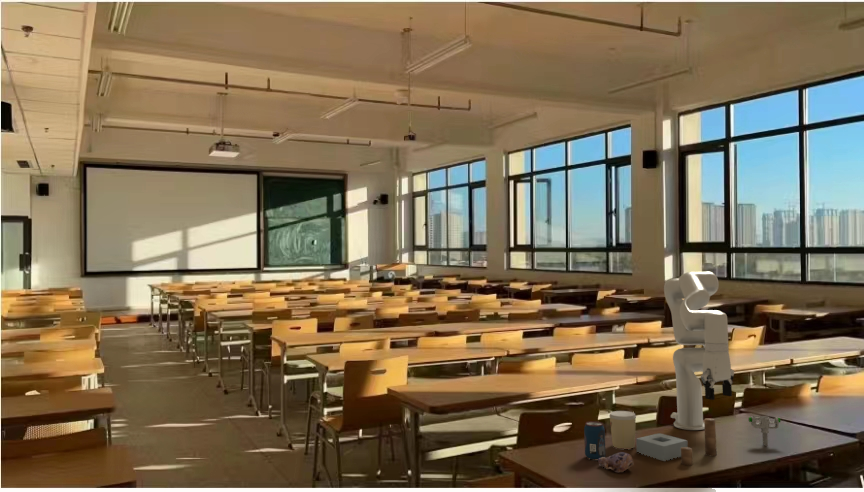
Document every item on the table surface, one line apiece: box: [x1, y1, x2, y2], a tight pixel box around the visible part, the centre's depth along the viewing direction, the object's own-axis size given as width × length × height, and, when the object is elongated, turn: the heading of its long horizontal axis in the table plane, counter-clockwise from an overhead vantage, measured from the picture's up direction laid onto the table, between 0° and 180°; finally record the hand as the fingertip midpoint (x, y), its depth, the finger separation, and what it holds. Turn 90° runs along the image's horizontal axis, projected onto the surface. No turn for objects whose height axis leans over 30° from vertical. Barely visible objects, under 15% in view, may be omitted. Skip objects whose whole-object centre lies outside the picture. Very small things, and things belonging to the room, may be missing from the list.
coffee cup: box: [609, 410, 637, 450], centre depth 239 cm, size 9×9×12 cm
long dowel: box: [703, 418, 717, 457], centre depth 227 cm, size 4×4×12 cm
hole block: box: [635, 432, 689, 462], centre depth 229 cm, size 12×12×5 cm
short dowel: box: [680, 446, 694, 466], centre depth 218 cm, size 4×4×5 cm
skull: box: [597, 451, 634, 473], centre depth 214 cm, size 12×8×6 cm, turn 35°
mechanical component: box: [748, 415, 781, 447], centre depth 236 cm, size 3×10×10 cm, turn 78°
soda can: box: [583, 420, 606, 460], centre depth 227 cm, size 7×7×12 cm
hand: (718, 397), depth 227 cm, fingers open, 9 cm apart
